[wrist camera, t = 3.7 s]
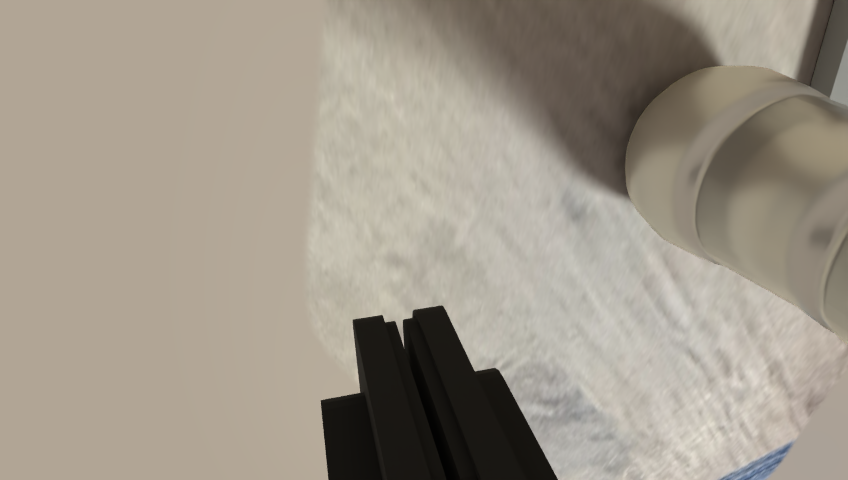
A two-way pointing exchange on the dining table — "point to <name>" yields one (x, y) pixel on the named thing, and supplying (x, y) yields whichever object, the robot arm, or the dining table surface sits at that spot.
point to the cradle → (834, 56)
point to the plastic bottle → (750, 182)
